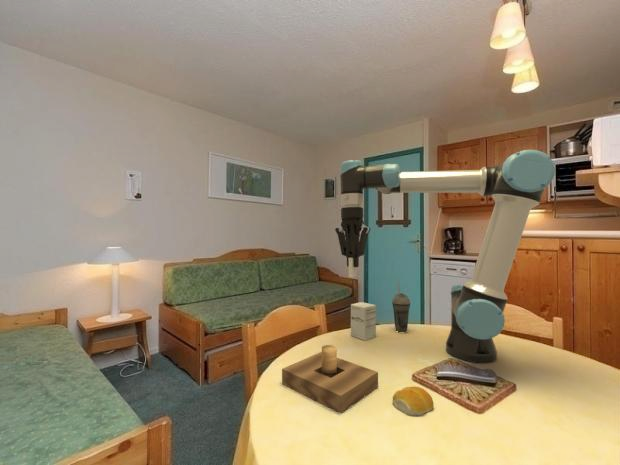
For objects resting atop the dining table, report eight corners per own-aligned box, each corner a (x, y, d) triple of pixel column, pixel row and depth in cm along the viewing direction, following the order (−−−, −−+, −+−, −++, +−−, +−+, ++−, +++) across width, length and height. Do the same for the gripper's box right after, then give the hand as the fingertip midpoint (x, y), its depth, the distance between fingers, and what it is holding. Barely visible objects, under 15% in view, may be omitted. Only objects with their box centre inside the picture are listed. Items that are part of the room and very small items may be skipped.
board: (378, 387, 80) (378, 372, 80) (340, 413, 68) (340, 395, 68) (321, 364, 94) (321, 351, 94) (282, 383, 82) (281, 368, 82)
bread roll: (439, 407, 71) (439, 390, 71) (415, 421, 66) (415, 402, 66) (410, 392, 78) (410, 376, 78) (386, 403, 73) (386, 386, 73)
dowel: (340, 385, 81) (340, 347, 81) (330, 390, 78) (330, 352, 78) (328, 379, 84) (328, 343, 84) (318, 385, 81) (318, 347, 81)
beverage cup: (411, 334, 122) (411, 284, 122) (392, 333, 123) (392, 284, 123) (409, 329, 129) (409, 281, 129) (391, 328, 130) (391, 281, 130)
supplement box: (350, 336, 120) (349, 304, 120) (362, 332, 125) (361, 301, 125) (364, 341, 114) (364, 307, 115) (376, 336, 119) (376, 304, 119)
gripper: (330, 207, 105) (330, 276, 104) (362, 205, 96) (363, 279, 96) (342, 209, 110) (343, 274, 110) (374, 206, 102) (375, 277, 101)
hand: (352, 276), depth 103 cm, fingers closed
